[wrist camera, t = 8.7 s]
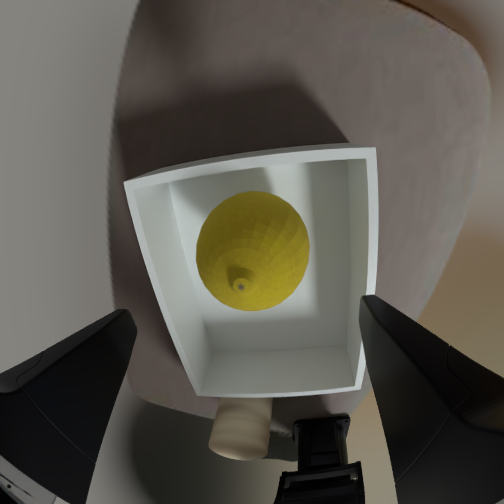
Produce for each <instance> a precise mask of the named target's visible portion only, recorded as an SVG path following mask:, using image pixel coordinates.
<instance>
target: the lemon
mask: <svg viewBox="0 0 504 504" xmlns="http://www.w3.org/2000/svg"><path fill="white" fill-rule="evenodd" d="M309 251H310V242H309V237H308V233H307V228H306V226H305V224H304V222H303V220H302V218H301V216H300V215H299V213H298V212H297V211H296V210H295V209H294V208H293V207H292V206H291V204H289V203H288V202H286V201H285V200H283V199H282V198H280V197H279V196H276V195H273V194H270V193H267V192H259V191H248V192H243V193H238V194H236V195H234V196H231V197H229V198H227V199H225V200H224V201H222V202H221V203H220V204H219V205H218V206H217V207H215V208H214V209H213V210H212V211H211V212H210V214H209V215H208V217H207V218H206V220H205V221H204V223H203V225H202V227H201V230H200V233H199V236H198V240H197V244H196V264H197V268H198V273H199V276H200V278H201V280H202V282H203V284H204V286H205V287H206V288H207V290H208V291H209V292H210V293H211V294H212V295H213V297H215V298H216V299H217V300H219V301H220V302H221V303H223V304H224V305H227V306H229V307H231V308H233V309H237V310H242V311H260V310H265V309H269V308H272V307H274V306H276V305H278V304H280V303H282V302H283V301H284V300H285V299H287V298H288V297H289V296H290V295H291V294H292V293H293V292H294V291H295V289H296V288H297V287H298V285H299V284H300V282H301V281H302V279H303V276H304V274H305V271H306V268H307V265H308V262H309Z"/></svg>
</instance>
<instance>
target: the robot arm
mask: <svg viewBox="0 0 504 504" xmlns="http://www.w3.org/2000/svg"><path fill="white" fill-rule="evenodd" d="M359 327H360V332H361V337H362V343H363V348H364V354H365V360H366V365H367V369H368V373H369V376H370V380H371V383H372V387H373V390H374V394H375V398H376V401H377V405H378V409H379V413H380V417H381V421H382V425H383V429H384V433H385V438H386V442H387V447H388V451H389V455H390V461H391V466H392V471H393V476H394V481H395V483H396V484H395V488H396V494H397V500H398V504H504V378H503V377H501V376H499V375H497V374H496V373H494V372H492V371H491V370H489V369H487V368H485V367H484V366H482V365H480V364H478V363H477V362H475V361H473V360H472V359H470V358H469V357H467V356H466V355H464V354H463V353H461V352H460V351H458V350H457V349H455V348H454V347H452V346H451V345H450V346H449V344H448V343H446V342H445V341H443V340H442V339H441V338H439V337H438V336H436V335H435V334H433V333H431V332H430V331H429V330H427V329H426V328H424V327H423V326H421V325H420V324H418V323H417V322H415V321H414V320H412V319H411V318H409V317H408V316H406V315H405V314H403V313H402V312H400V311H399V310H397V309H396V308H394V307H393V306H391V305H390V304H388V303H386V302H385V301H383V300H382V299H380V298H379V297H377V296H376V295H374V294H371V295H363V296H361V298H360V307H359ZM136 336H137V327H136V324H135V322H134V320H133V317H132V315H131V313H130V311H129V310H127V309H117V310H115V311H114V312H112V313H110V314H108V315H106V316H105V317H103V318H101V319H99V320H97V321H96V322H94V323H92V324H90V325H88V326H87V327H85V328H83V329H81V330H80V331H78V332H76V333H74V334H72V335H71V336H69V337H67V338H65V339H64V340H62V341H60V342H58V343H56V344H55V345H53V346H51V347H49V348H48V349H46V350H45V351H42V352H41V353H39V354H37V355H35V356H33V357H32V358H30V359H28V360H26V361H24V362H22V363H21V364H18V365H16V366H14V367H12V368H11V369H9V370H6V371H4V372H2V373H1V374H0V504H54V502H55V500H56V497H59V498H61V499H63V500H64V501H66V502H68V503H70V504H86V500H87V495H88V491H89V488H90V483H91V480H92V476H93V472H94V469H95V465H96V464H95V463H96V461H97V457H98V454H99V450H100V447H101V444H102V440H103V437H104V434H105V431H106V428H107V425H108V422H109V419H110V416H111V413H112V410H113V407H114V404H115V401H116V398H117V395H118V393H119V390H120V387H121V384H122V381H123V379H124V376H125V374H126V371H127V368H128V364H129V361H130V357H131V354H132V350H133V346H134V343H135V339H136ZM350 421H351V420H350V417H349V416H346V417H338V418H329V419H319V420H307V421H296V422H294V432H295V445H296V446H298V471H295V472H287V471H285V472H282V476H280V481H279V486H278V491H277V495H276V498H275V501H274V503H273V504H365V492H364V483H363V476H362V468H361V462H360V461H357V462H356V463H351V464H348V455H347V447H346V436H347V433H348V429H349V425H350ZM352 478H356V480H355V479H352Z"/></svg>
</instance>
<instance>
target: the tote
mask: <svg viewBox="0 0 504 504" xmlns="http://www.w3.org/2000/svg"><path fill="white" fill-rule="evenodd" d="M123 183H124V187H125V192H126V196H127V200H128V204H129V208H130V212H131V216H132V220H133V224H134V227H135V231H136V234H137V238H138V241H139V245H140V248H141V252H142V255H143V258H144V261H145V265H146V268H147V271H148V274H149V277H150V280H151V283H152V286H153V289H154V292H155V295H156V298H157V300H158V303H159V306H160V309H161V311H162V314H163V317H164V319H165V322H166V325H167V327H168V330H169V332H170V335H171V337H172V340H173V342H174V345H175V347H176V350H177V352H178V354H179V357H180V359H181V361H182V364H183V366H184V368H185V371H186V373H187V375H188V377H189V380H190V382H191V384H192V386H193V388H194V390H195V392H196V395H197V396H209V397H239V398H260V397H290V396H305V395H317V394H328V393H337V392H345V391H352V390H359V389H361V385H362V380H363V375H364V369H365V364H366V360H365V354H364V348H363V343H362V337H361V332H360V327H359V307H360V298H361V296H363V295H371V294H374V295H375V285H376V271H377V253H378V178H377V160H376V147H371V146H366V145H360V144H355V143H334V144H319V145H306V146H295V147H285V148H276V149H267V150H259V151H252V152H245V153H238V154H231V155H225V156H219V157H213V158H208V159H202V160H197V161H191V162H186V163H181V164H177V165H172V166H167V167H163V168H159V169H157V170H154V171H151V172H148V173H146V174H143V175H140V176H137V177H135V178H132V179H130V180H127V181H124V182H123ZM248 191H259V192H267V193H270V194H273V195H276V196H279V197H280V198H282V199H283V200H285V201H286V202H288V203H289V204H291V206H292V207H293V208H294V209H295V210H296V211H297V212H298V213H299V215H300V216H301V218H302V220H303V222H304V224H305V226H306V228H307V233H308V237H309V242H310V251H309V262H308V265H307V268H306V271H305V274H304V276H303V279H302V281H301V282H300V284H299V285H298V287H297V288H296V289H295V291H294V292H293V293H292V294H291V295H290V296H289V297H288V298H287V299H285V300H284V301H283V302H282V303H280V304H278V305H276V306H274V307H272V308H269V309H265V310H260V311H242V310H237V309H233V308H231V307H229V306H227V305H224V304H223V303H221V302H220V301H219V300H217V299H216V298H215V297H213V295H212V294H211V293H210V292H209V291H208V290H207V288H206V287H205V286H204V284H203V282H202V280H201V278H200V276H199V273H198V268H197V264H196V244H197V240H198V236H199V233H200V230H201V227H202V225H203V223H204V221H205V220H206V218H207V217H208V215H209V214H210V212H211V211H212V210H213V209H214V208H215V207H217V206H218V205H219V204H220V203H221V202H222V201H224V200H225V199H227V198H229V197H231V196H234V195H236V194H238V193H243V192H248Z"/></svg>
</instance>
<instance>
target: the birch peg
mask: <svg viewBox="0 0 504 504" xmlns="http://www.w3.org/2000/svg"><path fill="white" fill-rule="evenodd" d="M272 405H273V397H260V398H239V397H221V398H220V402H219V406H218V410H217V414H216V418H215V421H214V425H213V429H212V433H211V437H210V441H209V447H210V449H211V450H213V451H214V452H216V453H217V454H220V455H222V456H225V457H228V458H232V459H237V460H256V459H261V458H263V457H265V456H266V455H267V450H268V442H269V433H270V424H271V414H272Z"/></svg>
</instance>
